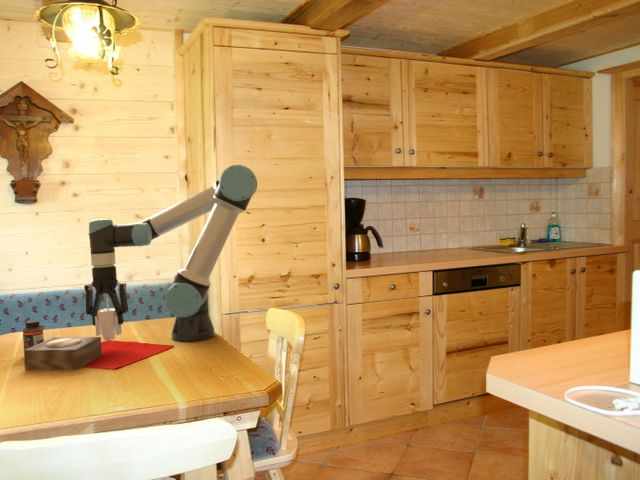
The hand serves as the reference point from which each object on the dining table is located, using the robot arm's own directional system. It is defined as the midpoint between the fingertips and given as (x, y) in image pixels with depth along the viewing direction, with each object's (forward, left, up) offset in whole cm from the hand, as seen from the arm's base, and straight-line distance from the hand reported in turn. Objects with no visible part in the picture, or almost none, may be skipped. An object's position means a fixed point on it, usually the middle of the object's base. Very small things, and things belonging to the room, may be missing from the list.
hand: (109, 334), depth 191 cm
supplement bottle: (+22, +6, -5) cm, 24 cm away
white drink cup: (0, 0, -2) cm, 2 cm away
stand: (+7, +15, -5) cm, 18 cm away
